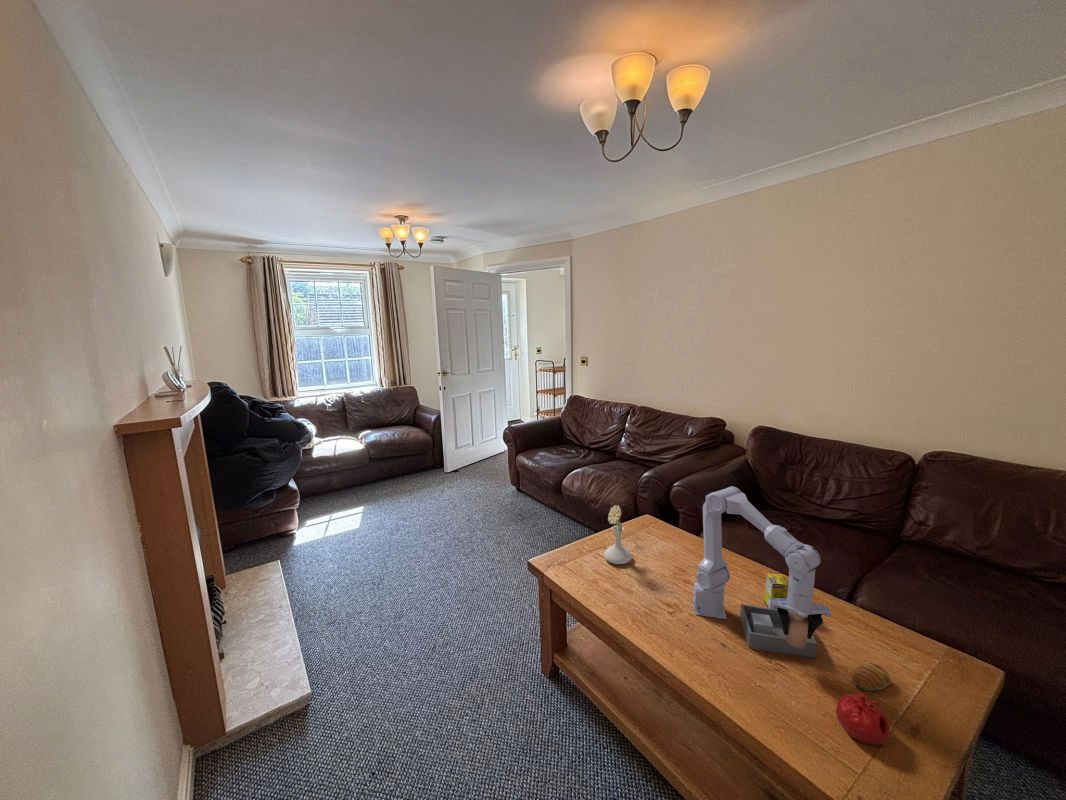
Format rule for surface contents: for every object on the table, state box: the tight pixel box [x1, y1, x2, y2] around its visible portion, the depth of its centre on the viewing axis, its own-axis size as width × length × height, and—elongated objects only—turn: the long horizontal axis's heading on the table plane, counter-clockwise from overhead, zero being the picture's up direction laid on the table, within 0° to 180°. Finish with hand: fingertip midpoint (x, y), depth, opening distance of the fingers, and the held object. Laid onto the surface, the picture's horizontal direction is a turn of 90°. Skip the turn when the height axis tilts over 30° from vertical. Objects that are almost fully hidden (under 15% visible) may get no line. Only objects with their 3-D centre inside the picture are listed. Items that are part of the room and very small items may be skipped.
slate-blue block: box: [750, 613, 773, 635], centre depth 126 cm, size 5×5×5 cm
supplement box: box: [763, 572, 789, 611], centre depth 137 cm, size 6×6×11 cm
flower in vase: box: [603, 505, 633, 565], centre depth 167 cm, size 13×11×25 cm
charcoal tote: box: [739, 603, 818, 660], centre depth 125 cm, size 17×13×5 cm
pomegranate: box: [835, 690, 891, 745], centre depth 95 cm, size 10×10×9 cm
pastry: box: [852, 660, 893, 692], centre depth 109 cm, size 9×7×4 cm
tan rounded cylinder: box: [785, 613, 809, 649], centre depth 113 cm, size 5×5×7 cm
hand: (796, 634), depth 113 cm, fingers closed on tan rounded cylinder, 5 cm apart
